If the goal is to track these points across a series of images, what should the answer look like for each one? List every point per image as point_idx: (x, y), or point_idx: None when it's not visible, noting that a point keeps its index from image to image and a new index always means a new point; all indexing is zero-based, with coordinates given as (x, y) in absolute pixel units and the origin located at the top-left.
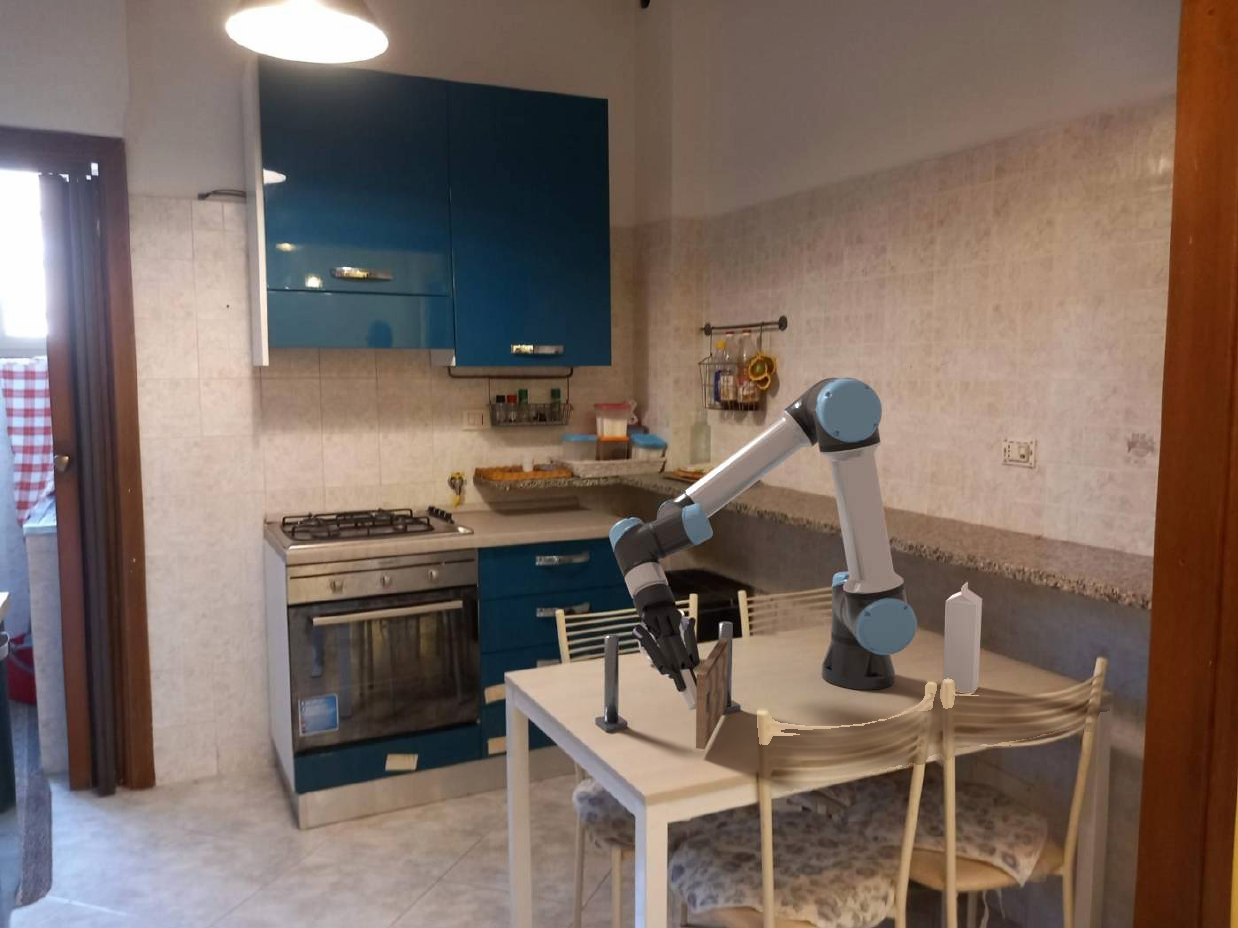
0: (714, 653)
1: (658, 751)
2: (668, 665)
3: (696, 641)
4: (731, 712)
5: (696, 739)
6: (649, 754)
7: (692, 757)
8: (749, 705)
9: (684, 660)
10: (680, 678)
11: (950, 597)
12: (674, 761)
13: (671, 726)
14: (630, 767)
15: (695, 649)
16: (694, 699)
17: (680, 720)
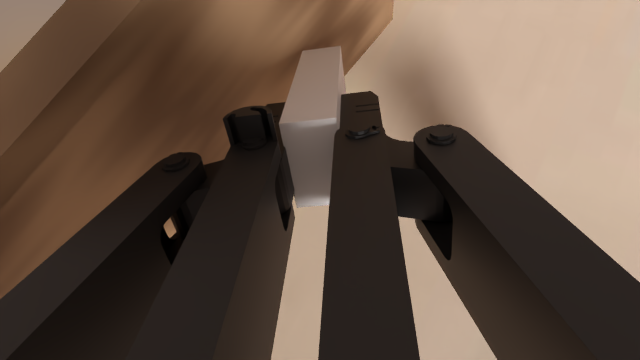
0: (35, 76)
1: (485, 105)
2: (436, 130)
3: (12, 289)
4: None
5: (391, 1)
6: (523, 94)
7: (402, 34)
8: None
9: (271, 170)
10: (357, 118)
11: None
12: (466, 25)
13: None
14: (619, 27)
15: (105, 228)
16: (335, 52)
17: (296, 321)
